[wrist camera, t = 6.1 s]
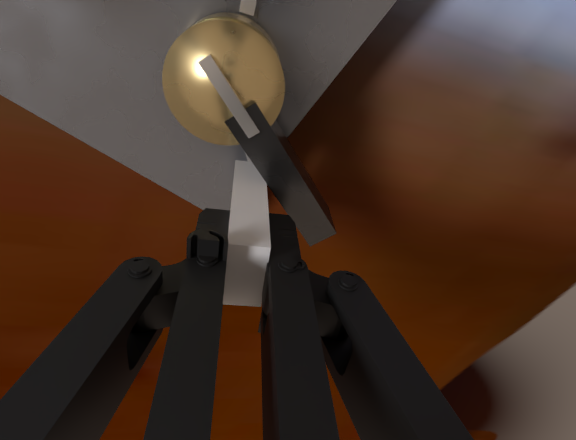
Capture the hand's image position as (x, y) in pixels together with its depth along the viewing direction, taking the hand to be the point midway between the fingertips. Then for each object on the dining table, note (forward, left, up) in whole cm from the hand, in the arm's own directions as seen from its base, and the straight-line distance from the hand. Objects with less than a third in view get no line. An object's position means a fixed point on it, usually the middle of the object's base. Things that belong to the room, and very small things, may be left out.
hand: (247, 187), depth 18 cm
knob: (-3, -1, -1) cm, 3 cm away
